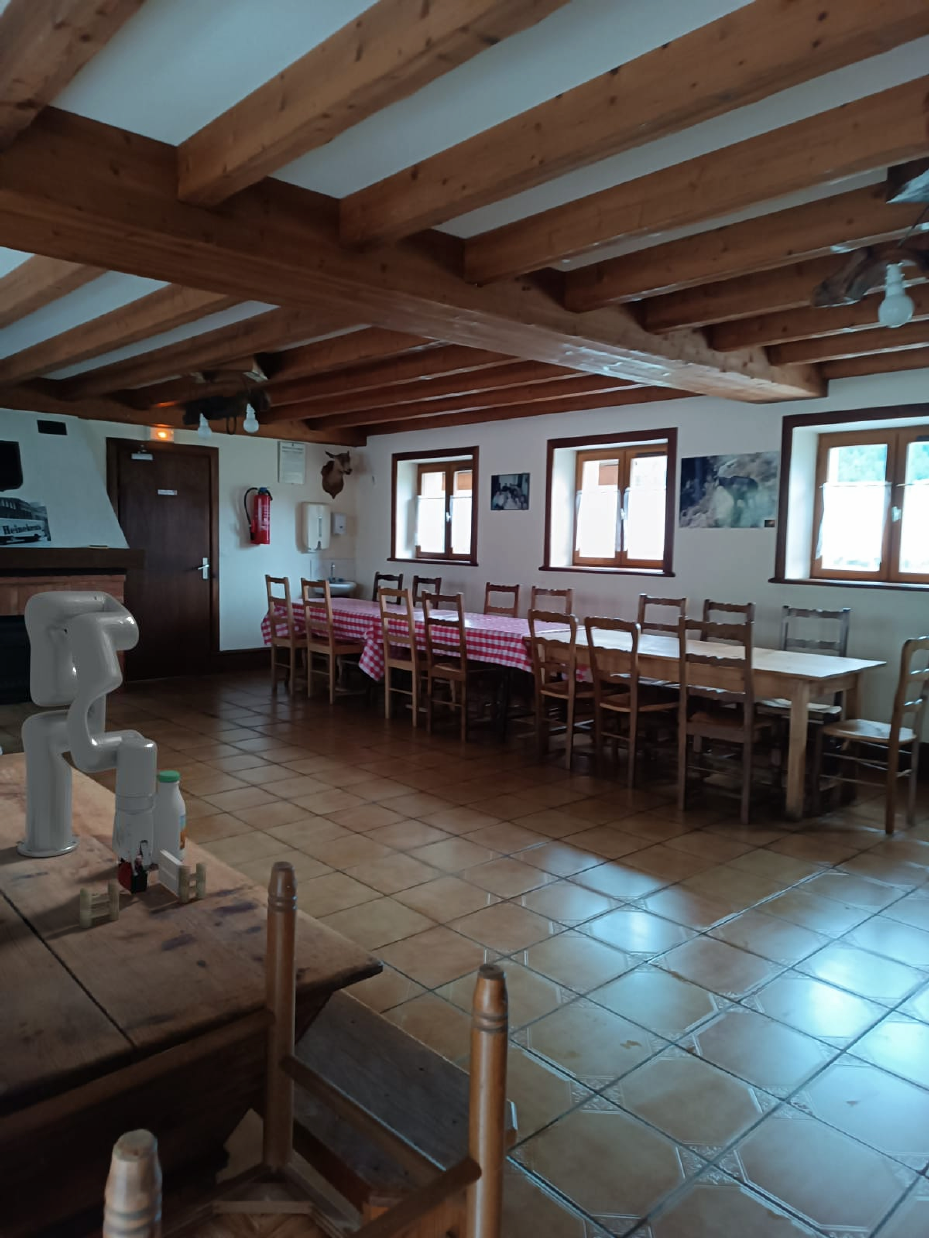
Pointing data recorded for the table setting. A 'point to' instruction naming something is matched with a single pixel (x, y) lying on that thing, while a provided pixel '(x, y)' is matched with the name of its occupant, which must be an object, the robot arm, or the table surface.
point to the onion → (126, 874)
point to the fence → (113, 895)
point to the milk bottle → (168, 818)
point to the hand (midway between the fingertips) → (132, 885)
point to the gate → (169, 870)
